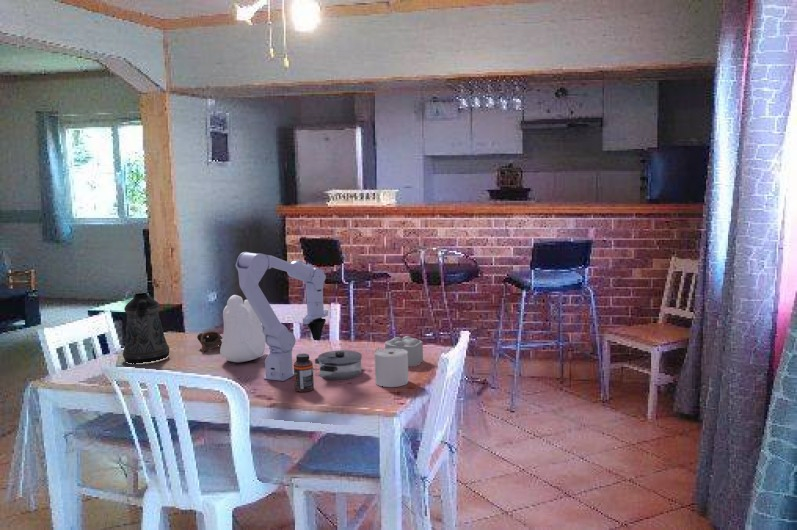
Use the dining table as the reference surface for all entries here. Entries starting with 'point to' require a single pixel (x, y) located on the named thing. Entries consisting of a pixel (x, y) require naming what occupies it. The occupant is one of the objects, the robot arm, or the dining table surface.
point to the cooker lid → (339, 357)
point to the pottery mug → (209, 340)
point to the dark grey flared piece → (144, 331)
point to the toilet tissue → (391, 367)
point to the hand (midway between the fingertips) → (316, 339)
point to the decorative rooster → (241, 332)
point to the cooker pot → (339, 370)
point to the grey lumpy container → (408, 348)
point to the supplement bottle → (303, 373)
